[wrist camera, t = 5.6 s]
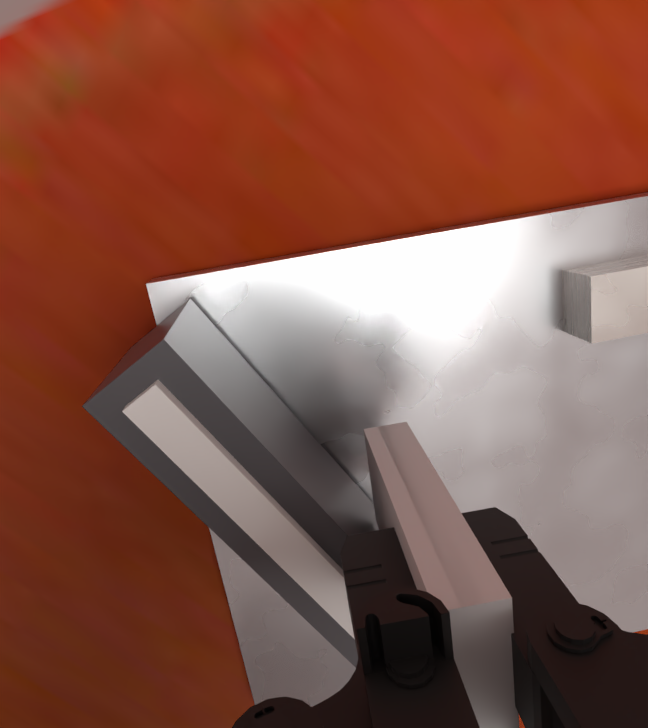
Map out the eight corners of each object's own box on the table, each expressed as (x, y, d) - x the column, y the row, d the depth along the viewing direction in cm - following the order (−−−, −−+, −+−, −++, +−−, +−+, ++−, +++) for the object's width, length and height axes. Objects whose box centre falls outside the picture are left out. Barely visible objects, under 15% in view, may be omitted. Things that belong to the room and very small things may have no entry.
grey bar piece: (406, 680, 19) (452, 828, 14) (97, 375, 14) (28, 452, 10) (511, 605, 18) (593, 733, 14) (226, 268, 14) (213, 300, 10)
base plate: (258, 693, 20) (259, 774, 17) (152, 278, 15) (129, 296, 12) (873, 553, 21) (965, 606, 18) (944, 140, 17) (1080, 128, 14)
